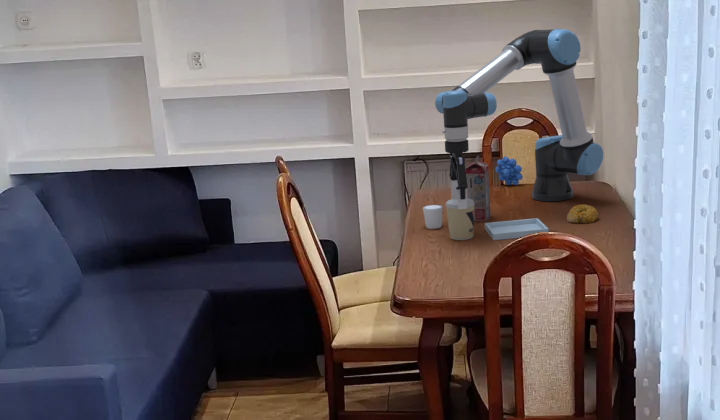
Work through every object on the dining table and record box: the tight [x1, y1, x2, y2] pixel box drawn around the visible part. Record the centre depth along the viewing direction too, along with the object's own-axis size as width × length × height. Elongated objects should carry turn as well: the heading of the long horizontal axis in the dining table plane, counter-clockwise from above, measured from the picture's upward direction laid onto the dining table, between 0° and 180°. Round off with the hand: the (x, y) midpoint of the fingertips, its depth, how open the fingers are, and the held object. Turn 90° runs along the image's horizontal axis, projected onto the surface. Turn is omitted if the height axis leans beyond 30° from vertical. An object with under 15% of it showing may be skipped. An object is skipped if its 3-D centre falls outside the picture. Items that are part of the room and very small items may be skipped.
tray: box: [484, 218, 550, 241], centre depth 279 cm, size 18×14×2 cm
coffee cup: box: [445, 198, 475, 241], centre depth 277 cm, size 9×9×12 cm
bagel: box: [566, 204, 599, 224], centre depth 286 cm, size 10×11×5 cm
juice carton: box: [465, 155, 491, 222], centre depth 297 cm, size 7×7×22 cm
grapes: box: [494, 156, 524, 186], centre depth 344 cm, size 12×7×12 cm, turn 57°
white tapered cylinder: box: [422, 204, 443, 230], centre depth 293 cm, size 7×7×7 cm
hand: (459, 204), depth 276 cm, fingers open, 13 cm apart
